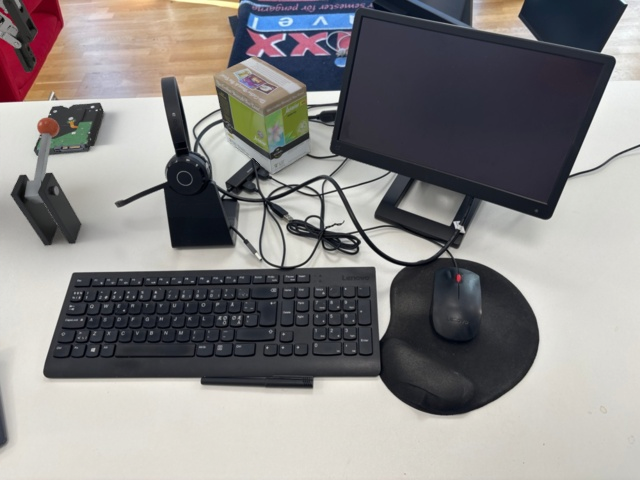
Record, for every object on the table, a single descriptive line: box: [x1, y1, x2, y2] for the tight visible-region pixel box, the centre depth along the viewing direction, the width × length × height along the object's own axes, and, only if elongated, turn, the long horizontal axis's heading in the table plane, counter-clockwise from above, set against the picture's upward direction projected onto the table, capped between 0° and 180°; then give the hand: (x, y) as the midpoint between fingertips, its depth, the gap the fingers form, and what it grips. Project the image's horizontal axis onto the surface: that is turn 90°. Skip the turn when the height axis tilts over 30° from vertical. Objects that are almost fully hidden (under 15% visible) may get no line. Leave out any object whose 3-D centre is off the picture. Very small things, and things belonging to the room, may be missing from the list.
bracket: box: [10, 172, 82, 246], centre depth 82 cm, size 10×8×13 cm
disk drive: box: [33, 102, 105, 157], centre depth 105 cm, size 10×3×15 cm
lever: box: [24, 116, 59, 204], centre depth 81 cm, size 15×3×3 cm, turn 4°
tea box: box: [212, 55, 311, 175], centre depth 96 cm, size 15×10×15 cm, turn 42°
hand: (0, 71), depth 74 cm, fingers open, 8 cm apart
